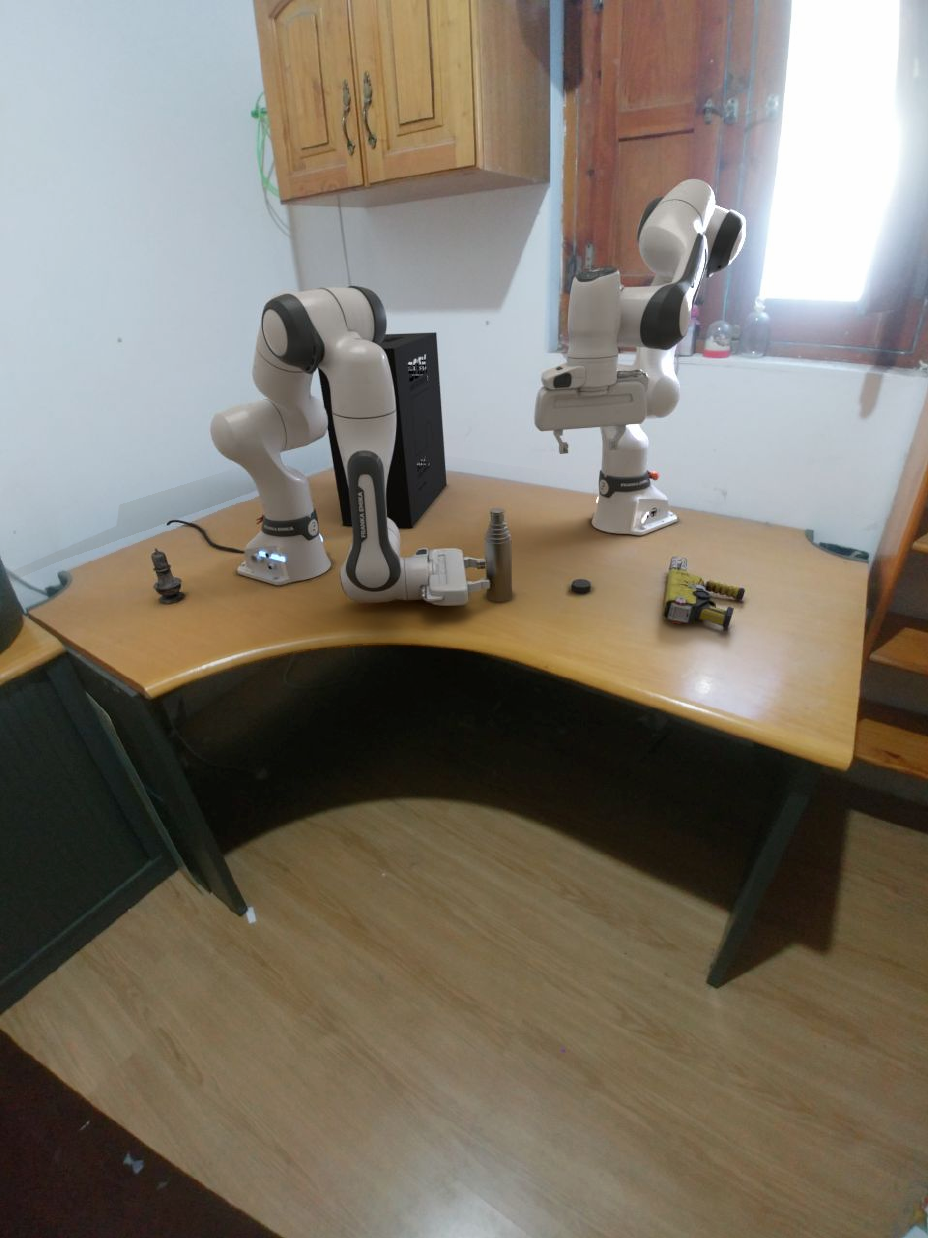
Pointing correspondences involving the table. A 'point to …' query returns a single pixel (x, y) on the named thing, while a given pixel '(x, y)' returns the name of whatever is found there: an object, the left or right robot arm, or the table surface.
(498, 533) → the bottle
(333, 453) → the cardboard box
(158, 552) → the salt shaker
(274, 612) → the table surface
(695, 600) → the toy gun
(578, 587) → the cap
